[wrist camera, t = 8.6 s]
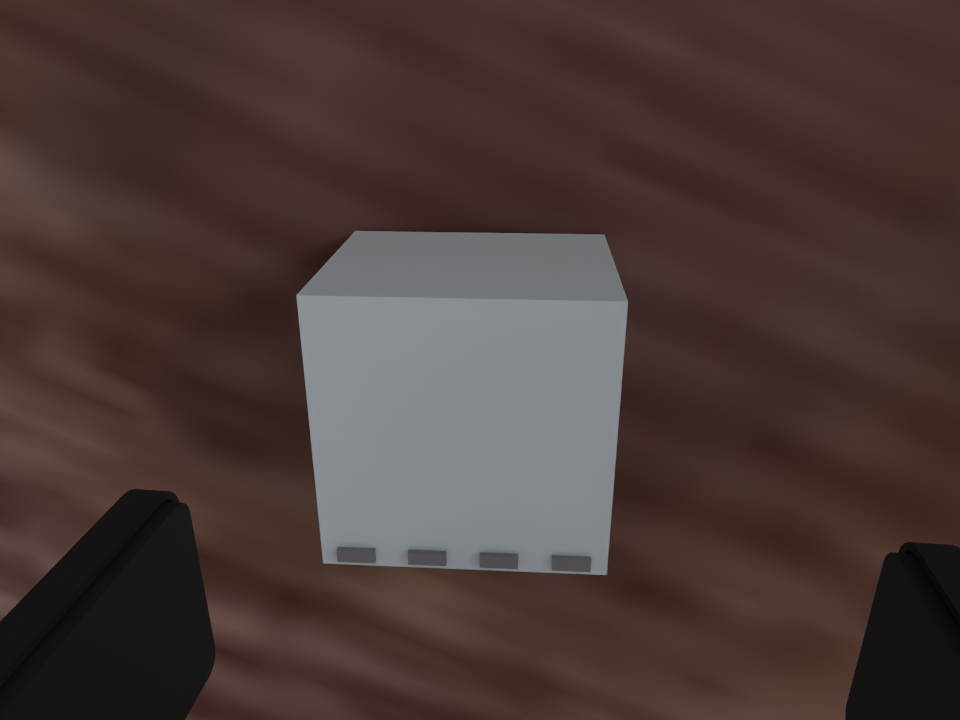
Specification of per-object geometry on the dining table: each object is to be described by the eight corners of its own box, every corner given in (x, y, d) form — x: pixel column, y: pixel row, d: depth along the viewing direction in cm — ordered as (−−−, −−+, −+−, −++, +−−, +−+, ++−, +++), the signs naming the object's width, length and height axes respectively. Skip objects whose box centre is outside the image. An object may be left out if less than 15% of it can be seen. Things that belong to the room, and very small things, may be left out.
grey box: (604, 234, 18) (628, 303, 13) (590, 454, 21) (607, 578, 16) (355, 231, 19) (294, 297, 14) (369, 447, 21) (321, 567, 16)
